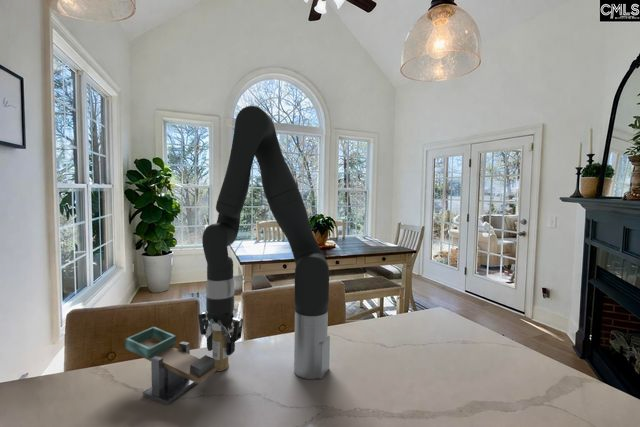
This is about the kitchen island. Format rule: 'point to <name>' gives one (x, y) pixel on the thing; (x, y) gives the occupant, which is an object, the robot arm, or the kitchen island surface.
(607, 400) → the kitchen island surface
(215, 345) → the sprinkles bottle
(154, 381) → the fulcrum stand
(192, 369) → the beam
